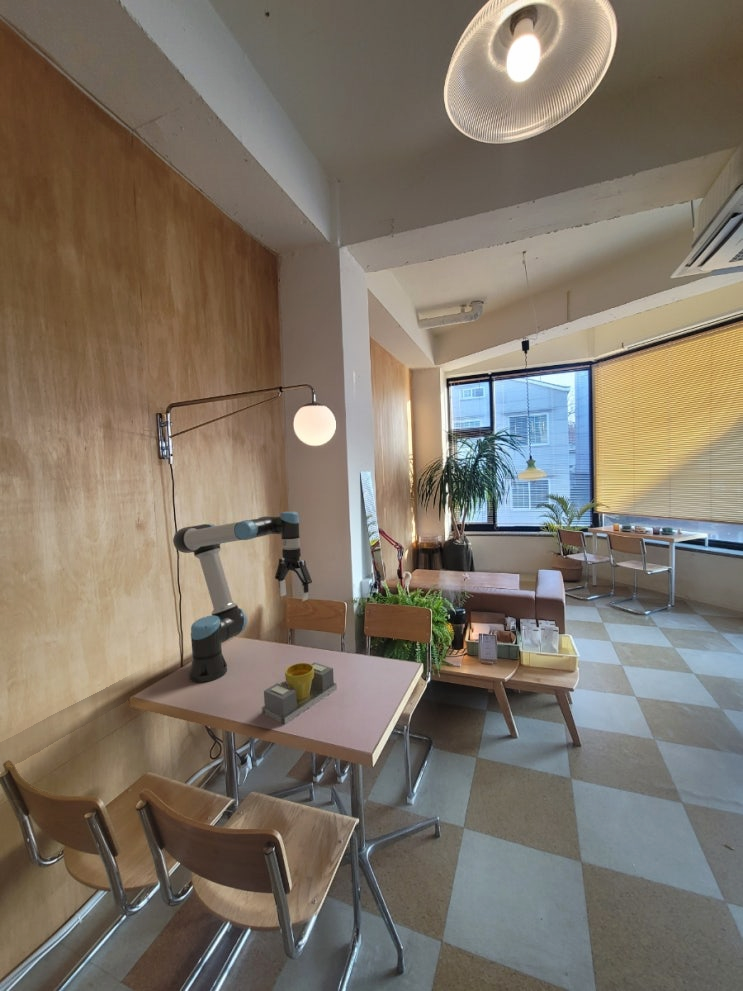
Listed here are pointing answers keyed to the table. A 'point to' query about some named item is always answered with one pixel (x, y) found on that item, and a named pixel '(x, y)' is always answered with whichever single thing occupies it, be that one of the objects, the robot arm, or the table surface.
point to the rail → (301, 704)
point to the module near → (280, 699)
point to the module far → (322, 676)
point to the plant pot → (300, 678)
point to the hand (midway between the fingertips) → (293, 597)
